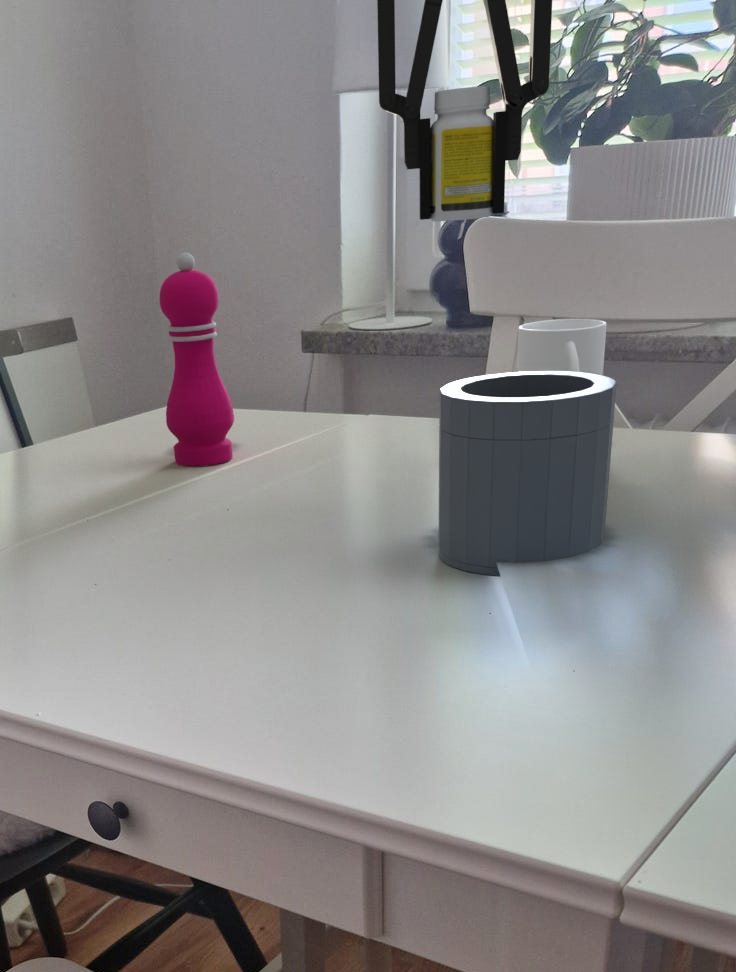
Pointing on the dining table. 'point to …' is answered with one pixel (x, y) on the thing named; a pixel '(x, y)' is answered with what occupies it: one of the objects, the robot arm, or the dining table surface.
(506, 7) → the robot arm
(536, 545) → the open container
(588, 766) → the dining table surface
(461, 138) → the supplement bottle
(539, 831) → the dining table surface
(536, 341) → the mug
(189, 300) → the pepper mill
